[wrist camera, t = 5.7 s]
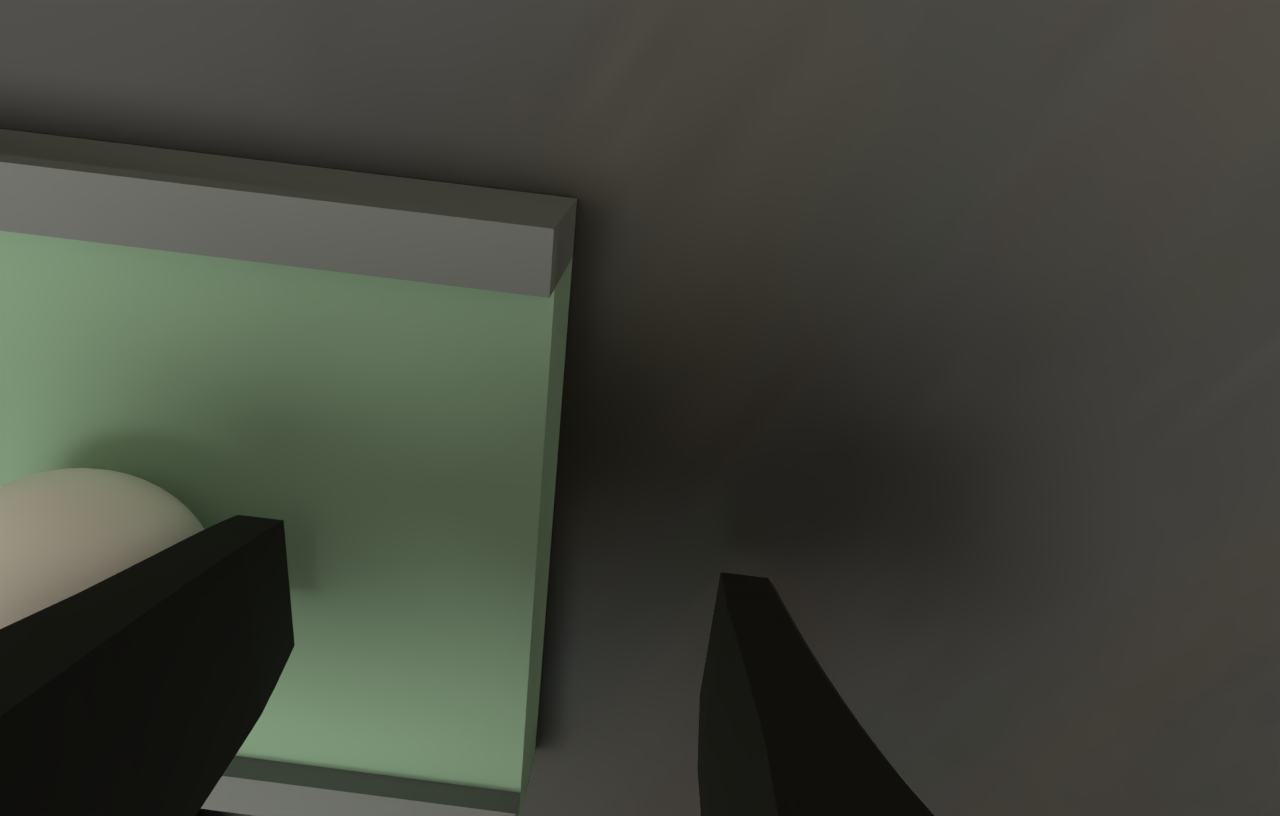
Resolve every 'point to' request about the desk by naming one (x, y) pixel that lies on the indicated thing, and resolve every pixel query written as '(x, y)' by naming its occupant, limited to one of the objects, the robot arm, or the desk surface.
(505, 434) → the green walled tray
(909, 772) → the desk surface
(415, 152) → the desk surface
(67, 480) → the ball
